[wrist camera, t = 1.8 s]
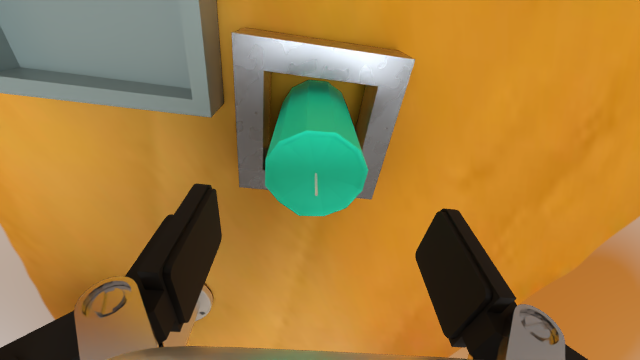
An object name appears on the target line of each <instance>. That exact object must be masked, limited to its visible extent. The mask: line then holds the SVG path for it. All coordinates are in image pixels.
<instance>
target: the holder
mask: <svg viewBox="0 0 640 360" xmlns="http://www.w3.org/2000/svg"><path fill="white" fill-rule="evenodd" d="M232 48H233V68H234V88H235V108H236V128H237V148H238V168H239V187H244V188H255V189H266V190H268V188H267V187H266V186H265V160H266V156H267V153H268V150H269V135H270V97H271V72H277V73H284V74H292V75H299V76H307V77H314V78H321V79H329V80H336V81H344V82H351V83H358V84H366V86H365V91H364V95H363V99H362V104H361V108H360V113H359V117H358V122H357V126H356V130H355V132H356V135H357V138H358V141H359V144H360V147H361V150H362V153H363V156H364V159H365V162H366V165H367V168H368V173H367V176H366V180H365V183H364V187H363V190H362V191H361V192H360V194H359V195H358V196H357V197H356V198H363V199H372V196H373V193H374V189H375V186H376V183H377V180H378V177H379V173H380V170H381V167H382V164H383V161H384V158H385V154H386V151H387V148H388V145H389V142H390V138H391V135H392V132H393V129H394V126H395V122H396V119H397V116H398V113H399V110H400V106H401V103H402V100H403V97H404V94H405V91H406V87H407V84H408V81H409V78H410V75H411V71H412V68H413V65H414V62H415V59H413V58H411V57H410V56H408V55H406V54H404V53H402V52H400V51H398V50H391V49H384V48H378V47H371V46H364V45H358V44H351V43H344V42H338V41H331V40H324V39H318V38H311V37H304V36H298V35H291V34H284V33H278V32H271V31H264V30H258V29H251V28H243V29H240V30H237V31H235V32H232Z"/></svg>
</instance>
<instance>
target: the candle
mask: <svg viewBox="0 0 640 360" xmlns="http://www.w3.org/2000/svg"><path fill="white" fill-rule="evenodd" d="M367 173H368V168H367V165H366V162H365V159H364V156H363V153H362V150H361V147H360V144H359V141H358V138H357V135H356V132H355V129H354V126H353V123H352V120H351V117H350V114H349V111H348V108H347V105H346V103H345V100H344V98H343V95H342V93H341V92H340V91H339V90H338V89H336V88H335V87H334V86H332V85H331V84H330V83H328V82H326V81H317V80H307V81H305V82H303V83H301V84H299V85H297V86H295V87H292V89H291V90H290V92H289V94H288V95H287V97H286V98H285V100H284V101H283V103H282V107H281V110H280V113H279V117H278V120H277V123H276V126H275V130H274V133H273V136H272V140H271V143H270V146H269V150H268V153H267V156H266V160H265V186H266V187H267V188H268V190H269V191H270V192H271V193H272V194H273V196H274V197H275V198H276V199H277V200H278V201H279V202H280V203H281V204H283V205H284V206H286V207H287V208H289V209H290V210H292V211H293V212H295V213H296V214H297V215H299V216H325V215H328V214H331V213H334V212H336V211H339V210H342V209H345V208H347V207H348V206H349V204H350V203H351V202H352V201H353V200H354V199H355V198H356V197H357V196H358V195H359V194H360V192H361V191H362V190H363V187H364V183H365V180H366V176H367Z"/></svg>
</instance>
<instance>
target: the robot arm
mask: <svg viewBox="0 0 640 360" xmlns="http://www.w3.org/2000/svg"><path fill="white" fill-rule="evenodd" d="M221 237H222V234H221V226H220V218H219V210H218V202H217V194H216V190H215V189H212V187H211V185H205V184H194V185H193V187H192V188H191V190H190V191H189V193H188V194H187V196H186V197H185V199H184V200H183V202H182V203H181V205H180V206H179V208H178V209H177V211H176V212H175V214H174V215H168V216H167V217H166V218H165V219H164V221H163V222H162V223H161V225H160V226H159V228H158V229H157V231H156V232H155V234H154V235H153V237H152V238H151V239H150V241H149V242H148V244H147V245H146V247H145V248H144V250H143V251H142V253H141V254H140V255H139V257H138V258H137V260H136V261H135V263H134V264H133V266H132V267H131V269H130V270H129V271H128V273H127V274H126V276H125V277H124V276H117V277H111V278H108V279H105V280H102V281H100V282H98V283H97V284H95V285H93V286H92V287H90V288H89V289H88V290H87V291H85V292H84V294H83V295H82V296H81V297H80V298H79V300H78V302H77V304H76V305H75V310H74V311H72V312H70V313H68V314H66V315H64V316H62V317H61V318H59V319H57V320H55V321H53V322H51V323H49V324H47V325H45V326H43V327H41V328H39V329H37V330H35V331H33V332H31V333H29V334H27V335H25V336H23V337H21V338H19V339H17V340H15V341H13V342H11V343H9V344H7V345H5V346H3V347H1V348H0V360H588V359H586V358H585V357H583V356H582V355H580V354H579V353H577V352H576V351H574V350H573V349H571V348H570V347H569V346H567V345H566V344H565V340H564V335H563V333H562V332H561V330H560V328H559V327H558V326H557V324H556V323H555V322H554V321H553V320H552V319H551V318H550V317H549V316H548V315H546V314H545V313H544V312H542V311H541V310H539V309H537V308H535V307H533V306H530V305H526V304H520V305H518V306H517V305H516V303H515V302H514V300H515V299H516V297H515V296H514V294H513V293H512V291H511V290H510V288H509V287H508V285H507V284H506V282H505V280H504V279H503V277H502V276H501V274H500V273H499V271H498V270H497V268H496V267H495V265H494V264H493V262H492V261H491V259H490V258H489V256H488V255H487V253H486V252H485V250H484V248H483V247H482V245H481V244H480V242H479V241H478V239H477V238H476V236H475V235H474V233H473V232H472V230H471V229H470V227H469V226H468V224H467V223H466V221H465V220H464V218H463V217H462V215H461V213H460V212H459V211H458V210H454V209H442V210H441V211H439V212H437V213H436V215H435V217H434V219H433V221H432V223H431V224H430V226H429V228H428V230H427V232H426V234H425V236H424V238H423V239H422V241H421V243H420V245H419V247H418V249H417V251H416V261H417V263H418V266H419V269H420V272H421V274H422V277H423V280H424V282H425V285H426V288H427V290H428V293H429V296H430V298H431V301H432V304H433V306H434V309H435V312H436V314H437V317H438V320H439V322H440V325H441V328H442V330H443V333H444V335H445V336H446V337H447V338H449V341H450V343H451V346H452V347H467V349H468V352H469V355H468V359H460V358H442V357H424V356H406V355H388V354H368V353H348V352H328V351H307V350H285V349H263V348H241V347H204V346H186V344H187V341H188V338H189V336H190V333H191V330H192V327H193V325H194V322H195V321H197V320H199V319H201V318H203V317H205V316H206V315H207V314H208V313H209V312H210V309H211V307H212V303H213V297H212V294H211V292H210V290H209V289H208V288H207V287H206V286H205V285H204V283H205V281H206V278H207V276H208V273H209V271H210V268H211V265H212V263H213V260H214V258H215V255H216V253H217V250H218V248H219V245H220V242H221Z"/></svg>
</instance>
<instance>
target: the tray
mask: <svg viewBox="0 0 640 360" xmlns="http://www.w3.org/2000/svg"><path fill="white" fill-rule="evenodd" d="M0 93H5V94H14V95H23V96H31V97H40V98H48V99H57V100H65V101H74V102H83V103H91V104H100V105H108V106H117V107H126V108H134V109H143V110H151V111H160V112H169V113H177V114H186V115H194V116H203V117H212V116H213V115H214V114H215V113H216V111H217V110H218V109H219V108H220V107H221V106H222V105H223V104H224V95H223V82H222V68H221V55H220V41H219V28H218V14H217V1H216V0H0Z"/></svg>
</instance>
